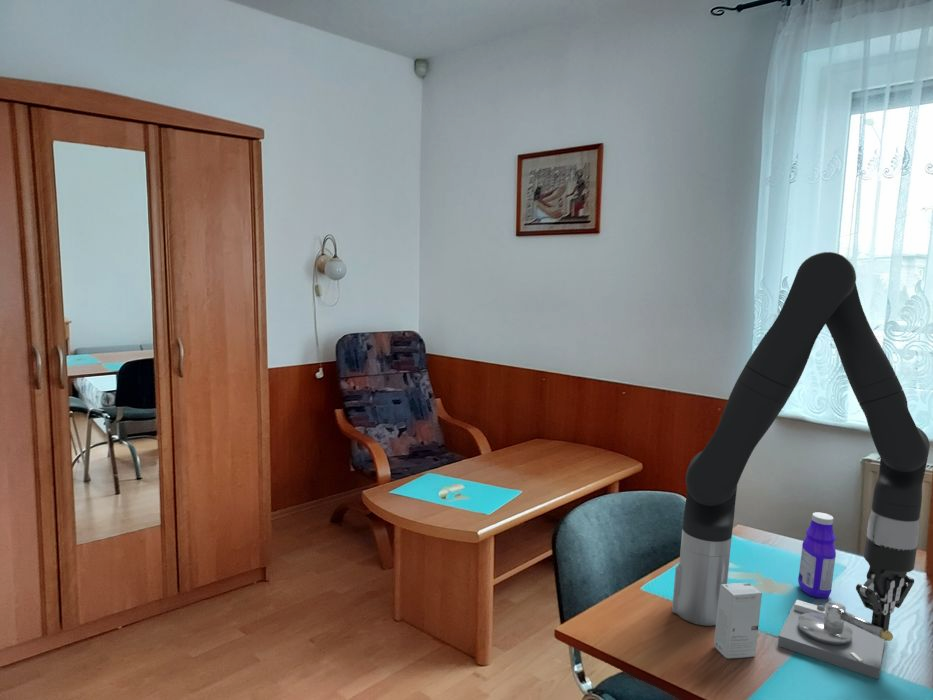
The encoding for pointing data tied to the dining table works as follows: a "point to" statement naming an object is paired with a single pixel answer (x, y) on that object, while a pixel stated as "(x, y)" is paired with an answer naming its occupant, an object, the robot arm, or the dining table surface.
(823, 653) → the switch base
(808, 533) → the bottle
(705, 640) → the dining table surface
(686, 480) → the robot arm
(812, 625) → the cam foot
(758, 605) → the skincare box
